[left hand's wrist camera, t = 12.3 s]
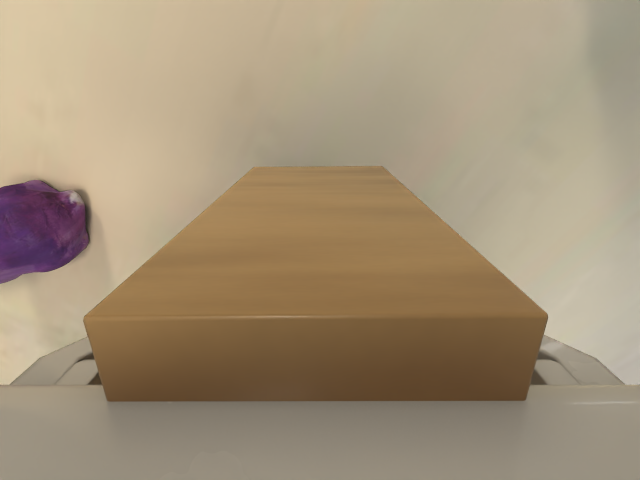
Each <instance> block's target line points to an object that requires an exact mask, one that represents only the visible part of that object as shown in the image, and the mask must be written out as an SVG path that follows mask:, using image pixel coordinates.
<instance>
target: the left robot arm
mask: <svg viewBox="0 0 640 480" xmlns="http://www.w3.org/2000/svg"><path fill="white" fill-rule="evenodd" d="M0 480H640V385H625V384H624V383H623V382H622V381H621V380H620V379H618V378H617V377H616V376H615V375H614V374H613V373H612V372H611V371H610V370H609V369H607V368H606V367H605V366H604V365H603V364H602V363H601V362H600V361H599V360H598V359H596V358H594V357H592V356H590V355H587V354H585V353H583V352H581V351H579V350H576V349H574V348H572V347H570V346H568V345H565V344H563V343H561V342H559V341H557V340H554V339H552V338H550V337H548V336H546V335H543V339H542V342H541V346H540V350H539V353H538V357H537V361H536V365H535V368H534V372H533V376H532V379H531V383H530V387H529V390H528V394H527V398H526V400H525V401H164V402H109V401H107V399H106V396H105V393H104V389H103V386H102V383H101V379H100V376H99V372H98V369H97V366H96V362H95V359H94V355H93V352H92V349H91V345H90V342H89V339H88V337H86V338H83V339H81V340H79V341H77V342H74V343H72V344H70V345H68V346H65V347H63V348H61V349H59V350H57V351H54V352H52V353H50V354H48V355H45V356H43V357H41V358H39V359H38V360H37V361H36V362H34V363H33V364H32V365H31V366H30V367H29V368H28V369H27V370H25V371H24V372H23V373H22V374H21V375H20V376H19V377H18V378H16V379H15V380H14V381H13V382H12V383H11V384H10V385H0Z"/></svg>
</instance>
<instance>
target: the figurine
mask: <svg viewBox="0 0 640 480" xmlns="http://www.w3.org/2000/svg"><path fill="white" fill-rule="evenodd" d="M88 243H89V239H88V234H87V232H86V225H85V205H84V202H83V200H82V198H81V197H80V195H79V194H78V193H77V192H75V191H72V190H68V191H63V192H59V191H57V190H55V189H53V188H52V187H50V186H49V185H47V184H46V183H44V182H42V181H39V180H31V181H28V182H25V183H21V184H15V185H9V186H4V187H1V188H0V284H1V283H5V282H8V281H11V280H13V279H16V278H17V277H19V276H20V275H22V274H26V273H33V272H48V271H52V270H55V269H57V268H60V267H62V266H64V265H66V264H67V263H69V262H70V261H71V260H72V259H74V258H75V257H76V256H77V255H78V254H79V253H80V252H81V251H82V250H84V249H85V248H86V247H87V245H88Z"/></svg>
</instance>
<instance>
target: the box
mask: <svg viewBox="0 0 640 480" xmlns="http://www.w3.org/2000/svg"><path fill="white" fill-rule="evenodd" d="M547 320H548V315H547V313H546V312H545V311H544V310H543V309H542V308H540V307H539V306H538V305H537V304H536V303H535V302H534V301H533V300H531V299H530V298H529V297H528V296H527V295H526V294H525V293H524V292H523V291H521V290H520V289H519V288H518V287H517V286H516V285H515V284H514V283H512V282H511V281H510V280H509V279H508V278H507V277H506V276H505V275H503V274H502V273H501V272H500V271H499V270H498V269H497V268H496V267H495V266H493V265H492V264H491V263H490V262H489V261H488V260H487V259H486V258H484V257H483V256H482V255H481V254H480V253H479V252H478V251H477V250H475V249H474V248H473V247H472V246H471V245H470V244H469V243H468V242H467V241H465V240H464V239H463V238H462V237H461V236H460V235H459V234H458V233H456V232H455V231H454V230H453V229H452V228H451V227H450V226H449V225H448V224H446V223H445V222H444V221H443V220H442V219H441V218H440V217H439V216H437V215H436V214H435V213H434V212H433V211H432V210H431V209H430V208H428V207H427V206H426V205H425V204H424V203H423V202H422V201H421V200H420V199H418V198H417V197H416V196H415V195H414V194H413V193H412V192H411V191H409V190H408V189H407V188H406V187H405V186H404V185H403V184H402V183H400V182H399V181H398V180H397V179H396V178H395V177H394V176H393V175H392V174H390V173H389V172H388V171H387V170H386V169H385V168H384V167H382V166H330V167H253V168H252V169H251V170H250V171H249V172H248V173H247V174H245V175H244V176H243V177H242V178H241V179H240V180H239V181H237V182H236V183H235V184H234V185H233V186H232V187H231V188H230V189H228V190H227V191H226V192H225V193H224V194H223V195H222V196H220V197H219V198H218V199H217V200H216V201H215V202H214V203H213V204H211V205H210V206H209V207H208V208H207V209H206V210H205V211H203V212H202V213H201V214H200V215H199V216H198V217H197V218H196V219H194V220H193V221H192V222H191V223H190V224H189V225H188V226H186V227H185V228H184V229H183V230H182V231H181V232H180V233H178V234H177V235H176V236H175V237H174V238H173V239H172V240H171V241H169V242H168V243H167V244H166V245H165V246H164V247H163V248H161V249H160V250H159V251H158V252H157V253H156V254H155V255H154V256H152V257H151V258H150V259H149V260H148V261H147V262H146V263H144V264H143V265H142V266H141V267H140V268H139V269H138V270H137V271H135V272H134V273H133V274H132V275H131V276H130V277H129V278H127V279H126V280H125V281H124V282H123V283H122V284H121V285H119V286H118V287H117V288H116V289H115V290H114V291H113V292H112V293H110V294H109V295H108V296H107V297H106V298H105V299H104V300H102V301H101V302H100V303H99V304H98V305H97V306H96V307H95V308H93V309H92V310H91V311H90V312H89V313H88V314H87V315H85V317H84V320H83V322H84V325H85V328H86V332H87V335H88V339H89V342H90V345H91V349H92V352H93V355H94V359H95V362H96V366H97V369H98V372H99V376H100V379H101V383H102V386H103V389H104V393H105V396H106V399H107V401H109V402H164V401H525V400H526V398H527V394H528V390H529V387H530V383H531V379H532V376H533V372H534V368H535V365H536V361H537V357H538V353H539V350H540V346H541V342H542V339H543V335H544V331H545V327H546V324H547Z"/></svg>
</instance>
